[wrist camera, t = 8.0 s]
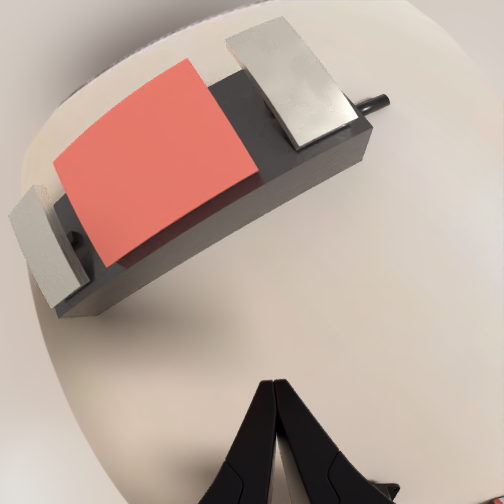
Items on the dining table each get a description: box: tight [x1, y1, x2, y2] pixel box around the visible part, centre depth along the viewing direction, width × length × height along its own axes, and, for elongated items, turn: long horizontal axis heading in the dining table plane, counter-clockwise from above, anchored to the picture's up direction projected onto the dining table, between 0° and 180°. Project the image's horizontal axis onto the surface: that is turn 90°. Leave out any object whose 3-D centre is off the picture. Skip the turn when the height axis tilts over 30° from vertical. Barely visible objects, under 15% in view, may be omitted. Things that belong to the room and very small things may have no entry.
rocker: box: [53, 58, 259, 268], centre depth 17 cm, size 9×12×1 cm
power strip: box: [9, 16, 390, 318], centre depth 19 cm, size 10×35×10 cm, turn 118°
